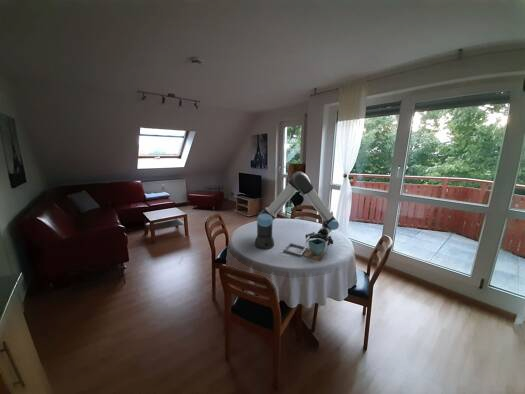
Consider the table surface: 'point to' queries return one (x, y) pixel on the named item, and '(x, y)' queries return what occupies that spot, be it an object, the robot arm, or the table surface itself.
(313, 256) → the walnut board
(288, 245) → the metal collar
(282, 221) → the table surface
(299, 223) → the table surface
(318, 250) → the flower pot
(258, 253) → the table surface
